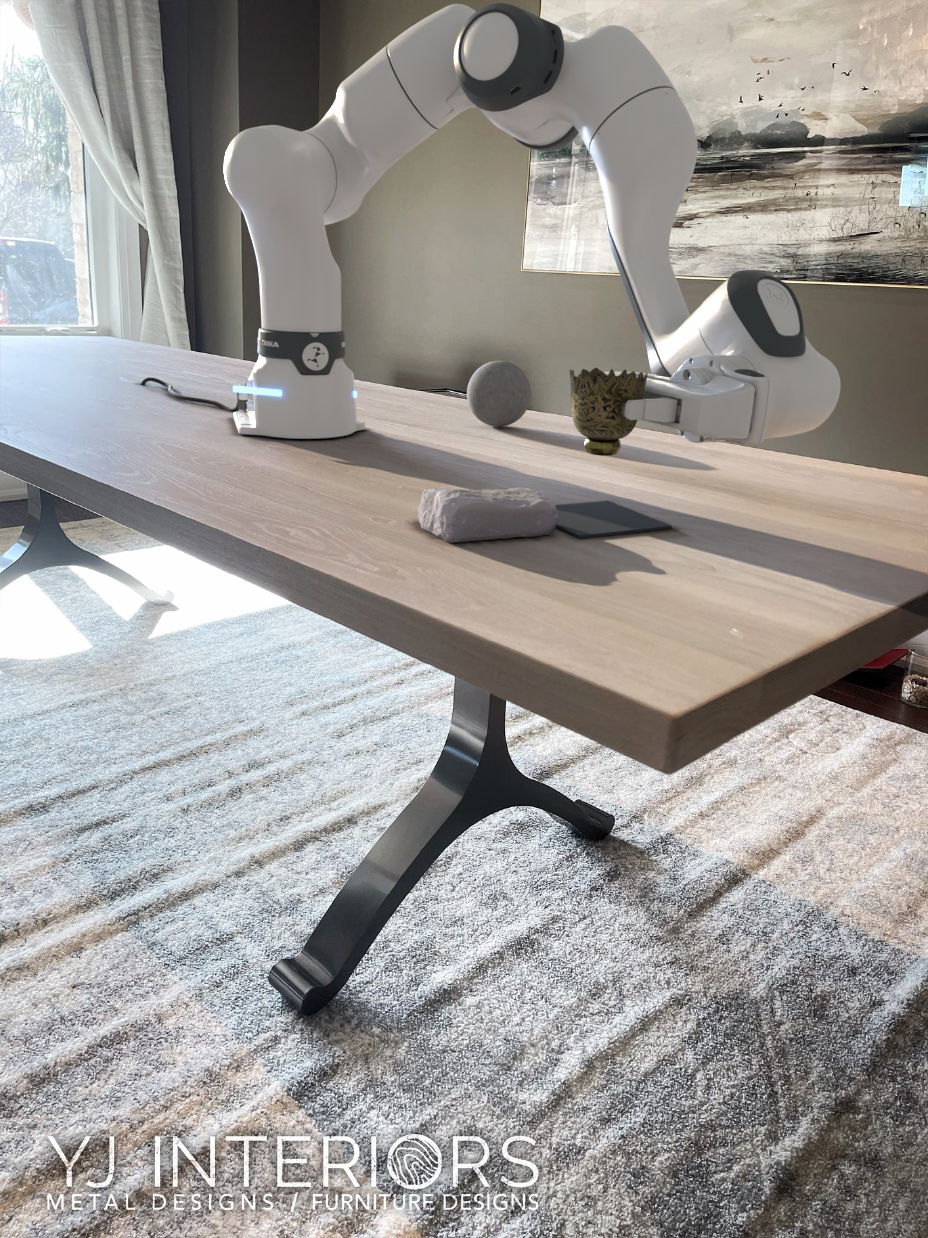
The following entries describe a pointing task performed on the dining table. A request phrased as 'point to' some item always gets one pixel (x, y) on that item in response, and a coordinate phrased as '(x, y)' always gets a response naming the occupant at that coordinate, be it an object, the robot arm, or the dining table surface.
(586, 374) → the cup
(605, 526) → the slate coaster
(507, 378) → the decorative ball
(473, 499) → the stone block
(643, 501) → the dining table surface
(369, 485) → the dining table surface
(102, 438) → the dining table surface
